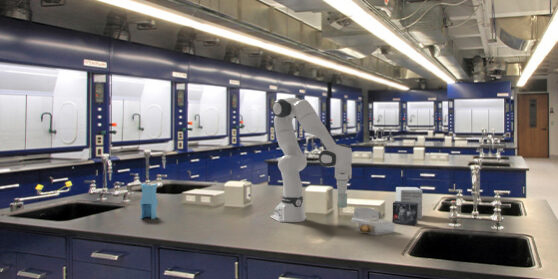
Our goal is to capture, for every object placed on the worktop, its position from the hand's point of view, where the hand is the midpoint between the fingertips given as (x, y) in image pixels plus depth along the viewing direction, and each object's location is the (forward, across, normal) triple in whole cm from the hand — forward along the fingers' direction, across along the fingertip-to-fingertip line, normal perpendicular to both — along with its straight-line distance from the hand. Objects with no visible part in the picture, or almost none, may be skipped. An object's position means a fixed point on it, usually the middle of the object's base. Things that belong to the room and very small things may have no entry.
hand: (342, 200), depth 243 cm
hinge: (+16, -21, +13) cm, 30 cm away
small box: (+16, -25, +35) cm, 46 cm away
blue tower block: (+19, -6, -114) cm, 116 cm away
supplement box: (+16, -46, +38) cm, 61 cm away
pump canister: (+3, 0, 0) cm, 3 cm away
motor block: (+16, +1, +17) cm, 23 cm away
